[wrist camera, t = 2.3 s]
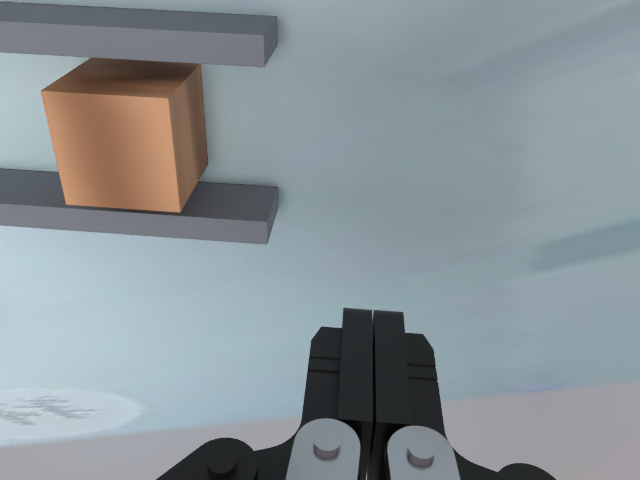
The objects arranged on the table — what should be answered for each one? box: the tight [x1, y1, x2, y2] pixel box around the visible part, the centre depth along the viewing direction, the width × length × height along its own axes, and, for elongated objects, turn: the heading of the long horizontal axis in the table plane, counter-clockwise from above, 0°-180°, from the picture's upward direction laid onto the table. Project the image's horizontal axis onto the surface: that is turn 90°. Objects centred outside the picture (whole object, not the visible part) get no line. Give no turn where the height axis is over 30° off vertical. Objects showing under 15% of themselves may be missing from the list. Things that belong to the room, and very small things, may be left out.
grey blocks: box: [0, 2, 278, 244], centre depth 27 cm, size 16×9×4 cm, turn 88°
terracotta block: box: [41, 57, 208, 212], centre depth 26 cm, size 5×5×5 cm
